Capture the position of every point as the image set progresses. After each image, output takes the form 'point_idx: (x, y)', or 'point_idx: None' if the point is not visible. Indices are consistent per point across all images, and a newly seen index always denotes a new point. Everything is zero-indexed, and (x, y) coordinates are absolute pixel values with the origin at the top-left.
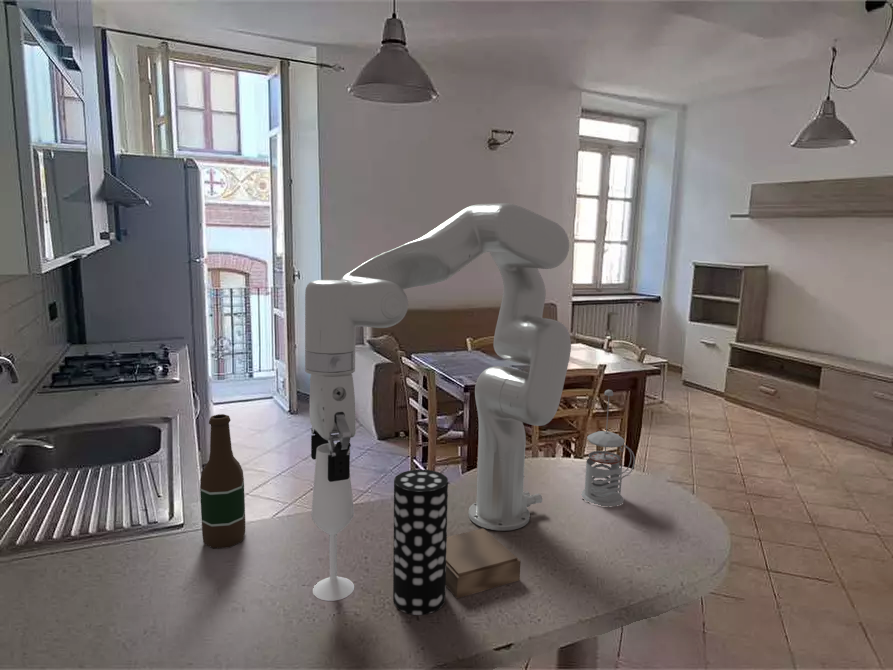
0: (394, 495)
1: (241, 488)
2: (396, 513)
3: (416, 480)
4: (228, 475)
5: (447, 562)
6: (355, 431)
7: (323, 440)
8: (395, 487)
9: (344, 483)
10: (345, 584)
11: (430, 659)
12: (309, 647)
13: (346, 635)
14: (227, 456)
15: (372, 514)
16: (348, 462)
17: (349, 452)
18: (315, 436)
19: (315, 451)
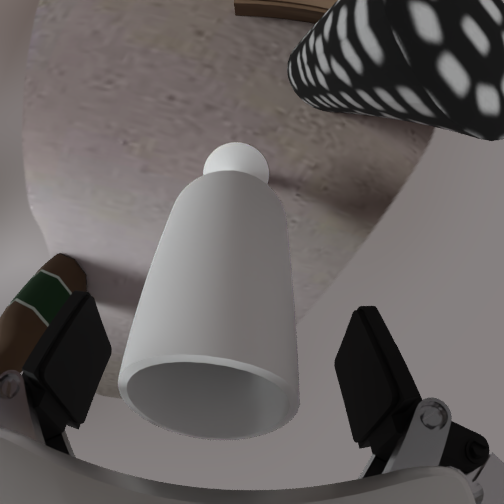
0: (426, 120)
1: (35, 307)
2: (415, 122)
3: (475, 49)
4: (33, 342)
5: (324, 8)
6: (470, 493)
7: (69, 382)
8: (460, 131)
9: (288, 268)
10: (248, 160)
11: (429, 136)
12: (338, 241)
13: (346, 197)
14: (12, 358)
15: (54, 64)
16: (399, 362)
17: (447, 411)
18: (70, 417)
19: (98, 367)
